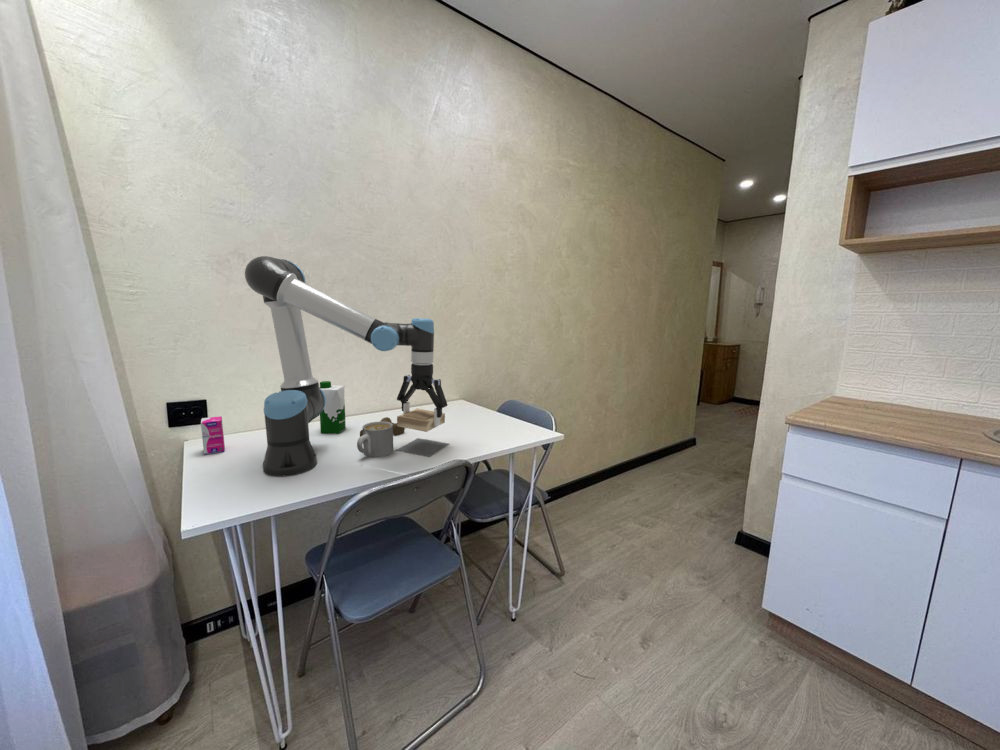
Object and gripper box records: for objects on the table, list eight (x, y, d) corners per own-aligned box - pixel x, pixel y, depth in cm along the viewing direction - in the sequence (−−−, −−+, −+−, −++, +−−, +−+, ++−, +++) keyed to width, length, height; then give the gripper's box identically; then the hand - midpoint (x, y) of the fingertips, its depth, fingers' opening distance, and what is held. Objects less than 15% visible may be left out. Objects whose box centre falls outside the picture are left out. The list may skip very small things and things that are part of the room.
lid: (426, 431, 134) (426, 420, 133) (397, 426, 138) (397, 415, 137) (444, 422, 145) (444, 412, 144) (416, 417, 149) (416, 407, 148)
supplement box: (203, 455, 133) (199, 422, 130) (204, 449, 137) (201, 418, 135) (224, 452, 136) (221, 420, 134) (225, 446, 141) (221, 415, 138)
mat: (429, 458, 134) (429, 457, 134) (395, 452, 139) (395, 450, 139) (449, 445, 147) (449, 443, 147) (417, 439, 152) (417, 438, 152)
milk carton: (327, 427, 164) (324, 379, 161) (349, 427, 164) (346, 380, 160) (317, 434, 156) (314, 384, 152) (340, 434, 156) (337, 384, 152)
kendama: (355, 441, 151) (397, 427, 167) (371, 447, 145) (412, 432, 161) (354, 426, 149) (396, 413, 165) (370, 432, 144) (412, 418, 160)
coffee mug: (383, 446, 145) (382, 419, 143) (399, 453, 138) (398, 425, 136) (348, 456, 135) (347, 427, 133) (363, 464, 128) (362, 434, 127)
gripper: (458, 365, 136) (456, 425, 140) (399, 358, 145) (399, 415, 149) (447, 368, 130) (445, 431, 133) (386, 361, 138) (386, 420, 142)
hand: (421, 423), depth 141 cm, fingers closed on lid, 12 cm apart
